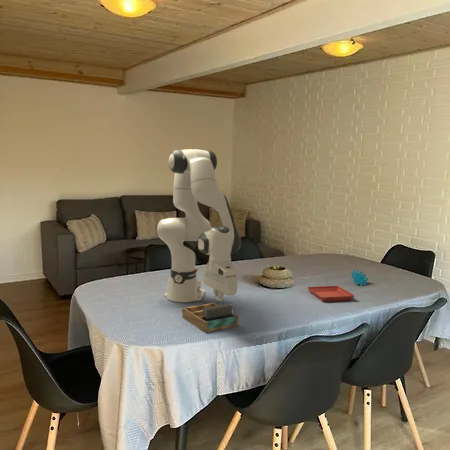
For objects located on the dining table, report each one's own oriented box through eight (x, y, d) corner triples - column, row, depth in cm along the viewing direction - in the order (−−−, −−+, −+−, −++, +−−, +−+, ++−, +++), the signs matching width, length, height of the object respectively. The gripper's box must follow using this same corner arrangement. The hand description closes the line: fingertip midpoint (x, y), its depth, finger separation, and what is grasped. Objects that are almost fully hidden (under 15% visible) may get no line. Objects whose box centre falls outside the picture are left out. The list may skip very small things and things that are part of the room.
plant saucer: (306, 292, 242) (306, 286, 242) (337, 291, 247) (337, 285, 246) (321, 303, 225) (321, 297, 224) (354, 302, 229) (355, 295, 229)
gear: (354, 283, 255) (350, 268, 261) (348, 289, 259) (345, 273, 265) (371, 286, 257) (368, 270, 263) (366, 291, 262) (362, 275, 268)
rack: (204, 332, 182) (205, 322, 182) (182, 317, 198) (182, 308, 197) (238, 325, 191) (238, 316, 190) (214, 311, 207) (214, 302, 206)
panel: (206, 326, 185) (207, 310, 184) (202, 324, 187) (203, 307, 186) (231, 321, 191) (232, 305, 190) (227, 319, 194) (228, 303, 193)
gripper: (199, 262, 192) (198, 294, 194) (227, 273, 175) (225, 308, 177) (212, 260, 196) (211, 292, 198) (240, 271, 179) (239, 306, 181)
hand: (218, 300), depth 187 cm, fingers closed
